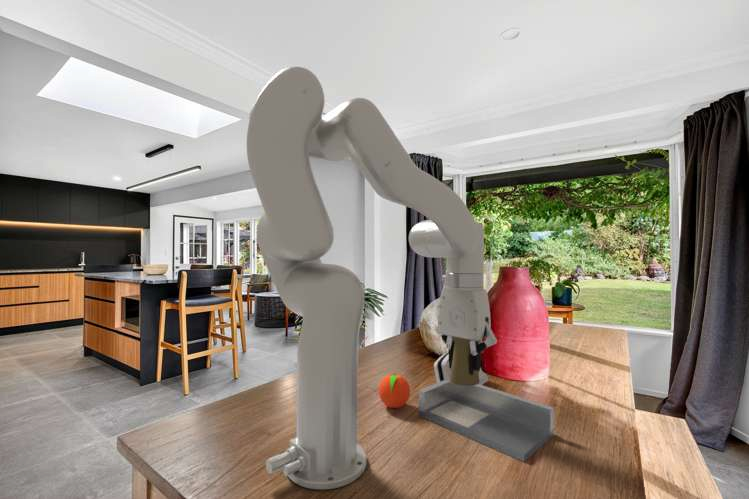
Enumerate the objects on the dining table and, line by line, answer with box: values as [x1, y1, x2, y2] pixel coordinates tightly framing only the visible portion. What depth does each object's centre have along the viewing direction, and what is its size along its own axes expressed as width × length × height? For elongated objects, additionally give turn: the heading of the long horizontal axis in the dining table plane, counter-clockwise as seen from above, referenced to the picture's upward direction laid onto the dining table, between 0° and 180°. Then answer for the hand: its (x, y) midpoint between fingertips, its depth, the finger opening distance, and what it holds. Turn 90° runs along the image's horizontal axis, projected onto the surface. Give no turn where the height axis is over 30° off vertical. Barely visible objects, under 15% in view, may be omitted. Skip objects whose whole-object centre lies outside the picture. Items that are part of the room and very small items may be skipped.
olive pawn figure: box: [450, 337, 480, 386], centre depth 73 cm, size 6×6×11 cm
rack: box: [417, 378, 555, 463], centre depth 70 cm, size 13×22×5 cm, turn 44°
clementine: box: [378, 373, 411, 409], centre depth 77 cm, size 8×7×7 cm
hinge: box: [433, 351, 489, 385], centre depth 91 cm, size 17×5×10 cm, turn 136°
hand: (464, 369), depth 73 cm, fingers closed on olive pawn figure, 3 cm apart
